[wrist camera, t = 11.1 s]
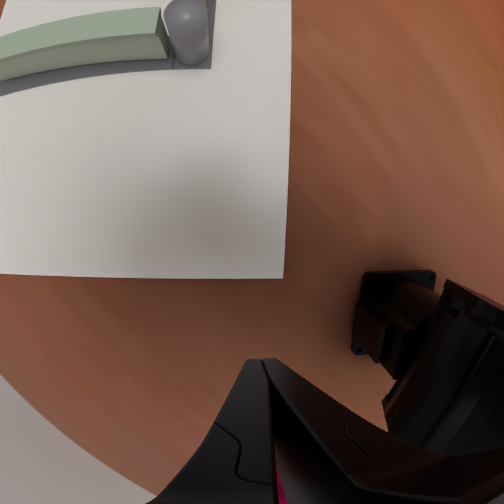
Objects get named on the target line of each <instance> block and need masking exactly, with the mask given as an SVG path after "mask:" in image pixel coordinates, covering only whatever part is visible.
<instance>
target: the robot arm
mask: <svg viewBox="0 0 504 504" xmlns="http://www.w3.org/2000/svg"><path fill="white" fill-rule="evenodd" d="M430 275H431V278H430V279H429V276H430ZM369 277H372V279H371V281H370V282H368V278H369ZM435 281H436V273H435V272H433V271H431V270H415V271H374V272H366V273H365V274H364V275H363V278H362V284H361V291H360V298H359V301H358V303H357V305H356V311H355V317H354V323H353V329H352V335H353V341H352V346H351V350H352V352H353V353H354V354H355V355H365V354H368V355H369V356H370V357H371V358H372V359H373V361H374V362H375V363H381V365H382V366H383V367H384V368H385V369H386V371H387V372H388V373H389V374H390V375H391V377H392V378H393V379H394V380H397V381H396V382H395V384H394V386H393V387H392V389H391V391H390V392H389V394H388V395H386V396H385V397H384V399H383V400H382V406H383V410H384V414H385V419H386V423H387V427H388V432H386V431H384V430H382V429H380V428H378V427H377V426H375V425H373V424H372V423H370V422H368V421H367V420H365V419H363V418H362V417H360V416H359V415H357V414H356V413H354V412H352V413H351V410H349V409H348V408H346V407H345V406H343V405H342V404H340V403H339V402H337V401H336V400H335V399H333V398H332V397H330V396H329V395H327V394H326V393H324V392H323V391H321V390H320V389H319V388H317V387H316V386H314V385H313V384H311V383H310V382H309V381H307V380H306V379H304V378H303V377H301V376H300V375H299V374H297V373H296V372H294V371H293V370H292V369H290V368H289V367H288V366H286V365H285V364H283V363H282V362H281V361H279V360H278V359H276V358H267V359H262V360H261V359H247V360H246V362H245V364H244V366H243V368H242V370H241V371H240V373H239V375H238V377H237V379H236V381H235V383H234V385H233V387H232V389H231V391H230V393H229V395H228V397H227V398H226V400H225V402H224V404H223V406H222V408H221V410H220V412H219V414H218V415H217V417H216V419H215V421H214V423H213V425H212V426H211V428H210V430H209V432H208V434H207V435H206V437H205V439H204V440H203V442H202V443H201V445H200V446H199V448H198V449H197V450H196V452H195V453H194V454H193V456H192V457H191V458H190V460H189V461H188V462H187V463H186V464H185V466H184V467H183V468H182V469H181V470H180V471H179V473H178V474H177V475H176V476H175V477H174V478H173V480H172V481H171V482H170V483H169V484H168V485H167V486H166V488H165V489H164V490H163V491H162V492H161V493H160V494H159V495H158V496H157V497H156V498H154V499H153V500H151V501H150V502H148V503H146V504H279V499H278V489H277V473H276V467H277V470H278V474H279V477H280V480H281V483H282V486H283V490H284V493H285V496H286V499H287V502H288V504H504V306H503V305H501V304H499V303H497V302H495V301H493V300H492V299H490V298H488V297H486V296H484V295H482V294H479V293H477V292H475V291H473V290H471V289H469V288H467V287H464V286H462V285H460V284H458V283H456V282H453V281H451V280H449V279H447V280H446V282H445V284H444V291H443V293H442V295H441V296H440V295H438V294H437V293H435V292H433V291H434V286H435ZM358 347H360V348H359V349H358V350H356V349H357V348H358Z"/></svg>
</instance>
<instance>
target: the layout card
mask: <svg viewBox="0 0 504 504" xmlns="http://www.w3.org/2000/svg"><path fill="white" fill-rule="evenodd" d="M145 7H160V8H161V11H162V13H161V16H162V19H163V22H164V25H165V28H166V31H167V34H168V37H169V40H170V46H169V53H168V59H146V60H128V61H115V62H104V63H95V64H87V65H79V66H72V67H66V68H59V69H54V70H48V71H43V72H38V73H33V74H28V75H24V76H20V77H15V78H11V79H7V80H3V81H1V80H0V273H1V274H22V275H47V276H76V277H114V278H176V279H280V278H283V270H284V254H285V235H286V216H287V194H288V169H289V140H290V100H291V0H7V1H6V4H5V7H4V10H3V13H2V16H1V19H0V37H1V36H4V35H7V34H10V33H13V32H16V31H19V30H22V29H26V28H29V27H33V26H37V25H40V24H44V23H48V22H53V21H57V20H61V19H66V18H71V17H76V16H81V15H87V14H93V13H99V12H106V11H114V10H123V9H133V8H145Z"/></svg>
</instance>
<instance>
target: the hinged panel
mask: <svg viewBox="0 0 504 504" xmlns="http://www.w3.org/2000/svg"><path fill="white" fill-rule="evenodd" d="M161 13H162V11H161V8H160V7H145V8H133V9H123V10H114V11H106V12H99V13H93V14H87V15H81V16H76V17H71V18H66V19H61V20H57V21H53V22H48V23H44V24H40V25H37V26H33V27H29V28H26V29H22V30H19V31H16V32H13V33H10V34H7V35H4V36H1V37H0V80H1V81H3V80H7V79H11V78H15V77H20V76H24V75H28V74H33V73H38V72H43V71H48V70H54V69H59V68H66V67H72V66H79V65H87V64H95V63H104V62H115V61H128V60H146V59H168V53H169V46H170V40H169V37H168V34H167V31H166V28H165V25H164V22H163V19H162V16H161Z"/></svg>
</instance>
